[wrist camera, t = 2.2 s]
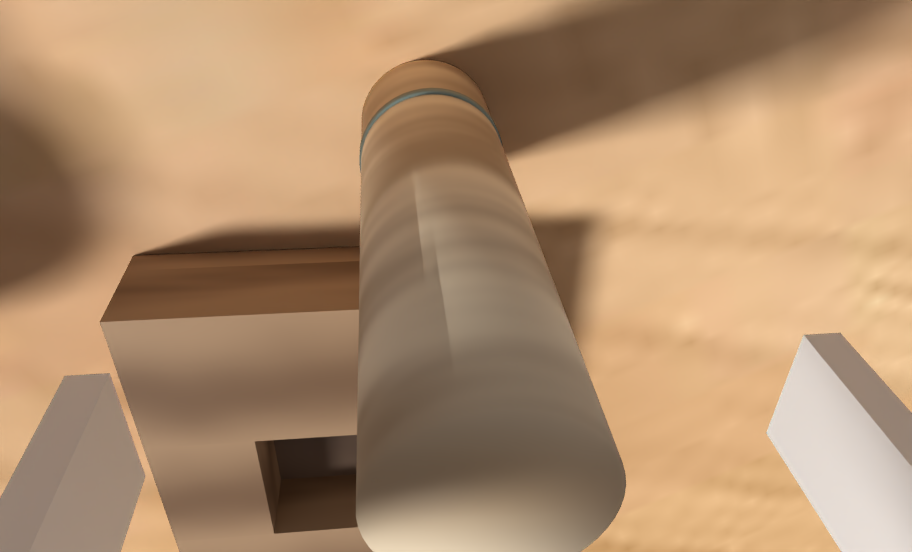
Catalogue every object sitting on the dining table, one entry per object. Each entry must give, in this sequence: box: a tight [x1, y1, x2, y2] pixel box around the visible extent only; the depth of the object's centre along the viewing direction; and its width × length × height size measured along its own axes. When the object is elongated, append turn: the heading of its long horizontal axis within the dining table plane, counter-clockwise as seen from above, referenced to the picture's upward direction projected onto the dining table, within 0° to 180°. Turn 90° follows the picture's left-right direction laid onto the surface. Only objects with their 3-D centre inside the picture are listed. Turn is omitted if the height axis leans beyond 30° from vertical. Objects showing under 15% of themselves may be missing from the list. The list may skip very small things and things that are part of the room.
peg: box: [356, 60, 626, 552], centre depth 18 cm, size 4×4×16 cm
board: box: [100, 247, 373, 552], centre depth 30 cm, size 18×14×4 cm
